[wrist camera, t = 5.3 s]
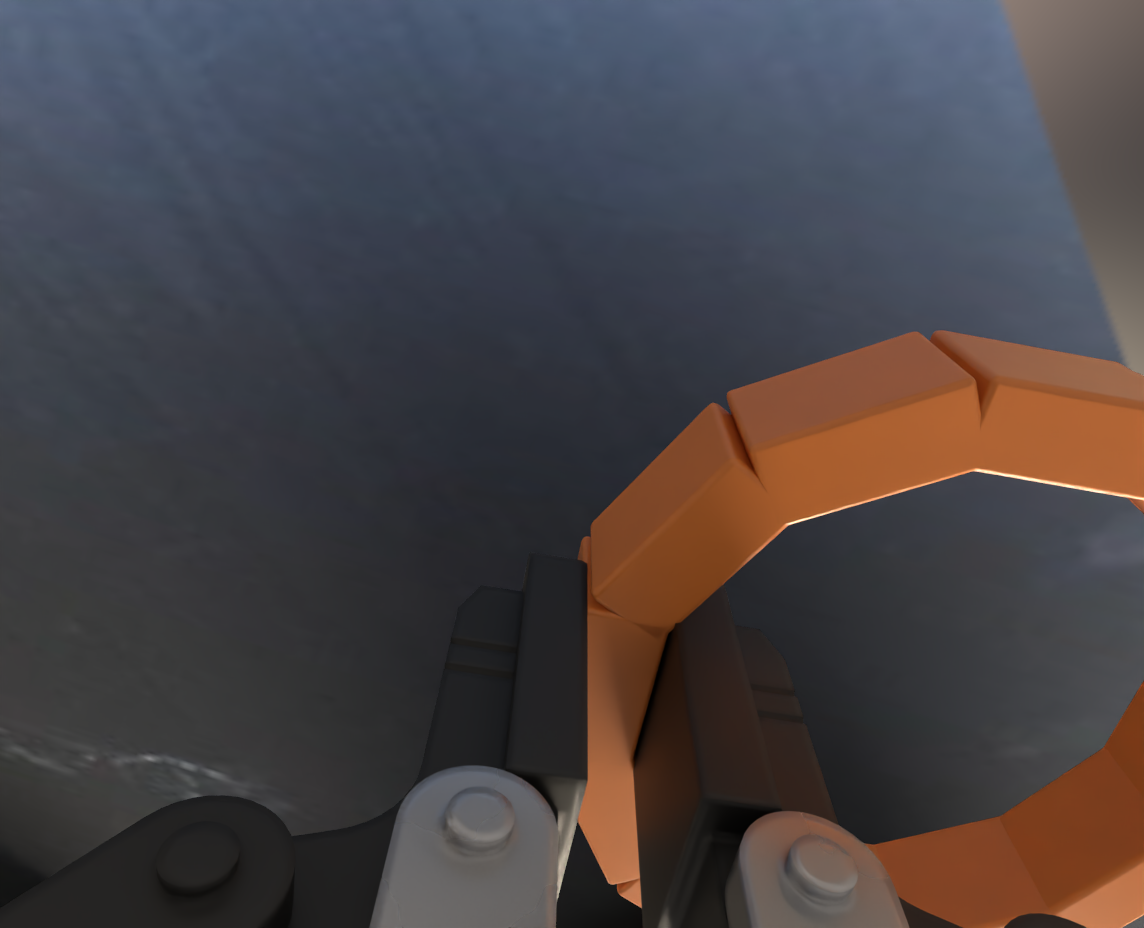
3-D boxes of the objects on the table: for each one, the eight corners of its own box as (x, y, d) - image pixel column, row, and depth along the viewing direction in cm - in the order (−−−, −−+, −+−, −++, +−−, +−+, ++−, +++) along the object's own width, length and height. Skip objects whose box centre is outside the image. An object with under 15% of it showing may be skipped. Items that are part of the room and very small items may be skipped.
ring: (637, 273, 9) (647, 313, 8) (1393, 410, 10) (1535, 473, 8) (517, 839, 13) (508, 938, 11) (1064, 916, 13) (1121, 1020, 12)
